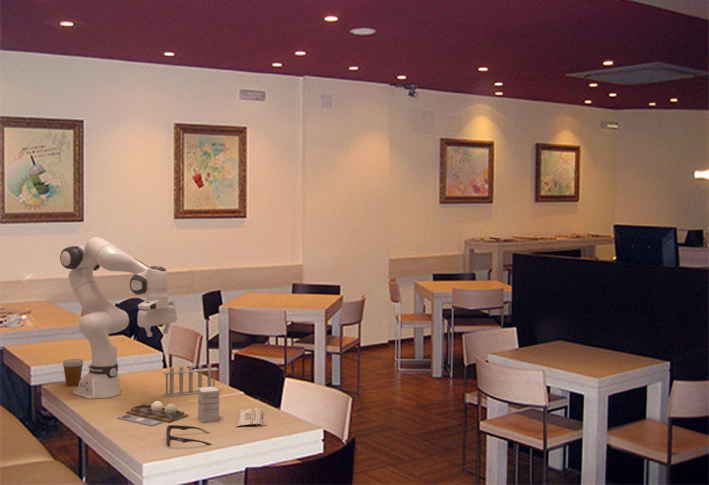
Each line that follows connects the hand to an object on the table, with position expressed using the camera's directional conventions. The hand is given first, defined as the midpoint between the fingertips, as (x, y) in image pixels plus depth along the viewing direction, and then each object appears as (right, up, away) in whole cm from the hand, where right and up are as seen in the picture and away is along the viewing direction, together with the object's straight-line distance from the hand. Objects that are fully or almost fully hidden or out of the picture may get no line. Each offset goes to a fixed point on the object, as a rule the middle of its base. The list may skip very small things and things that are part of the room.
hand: (157, 335), depth 309 cm
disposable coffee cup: (-51, -29, +35) cm, 69 cm away
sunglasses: (+24, -34, -46) cm, 62 cm away
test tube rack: (+9, -31, +22) cm, 39 cm away
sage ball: (+10, -29, -18) cm, 35 cm away
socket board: (+4, -32, -14) cm, 35 cm away
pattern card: (-1, -32, -22) cm, 39 cm away
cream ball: (+4, -28, -14) cm, 32 cm away
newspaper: (+44, -33, -17) cm, 58 cm away
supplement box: (+26, -32, -19) cm, 46 cm away
